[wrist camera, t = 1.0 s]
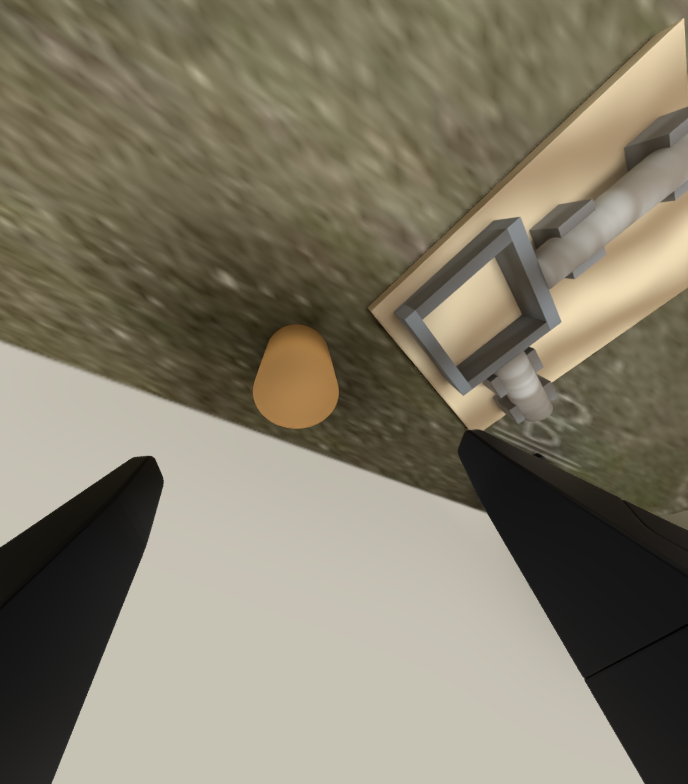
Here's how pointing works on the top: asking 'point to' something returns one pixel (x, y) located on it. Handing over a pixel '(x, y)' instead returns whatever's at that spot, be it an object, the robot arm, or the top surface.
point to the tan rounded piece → (296, 379)
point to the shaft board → (529, 198)
